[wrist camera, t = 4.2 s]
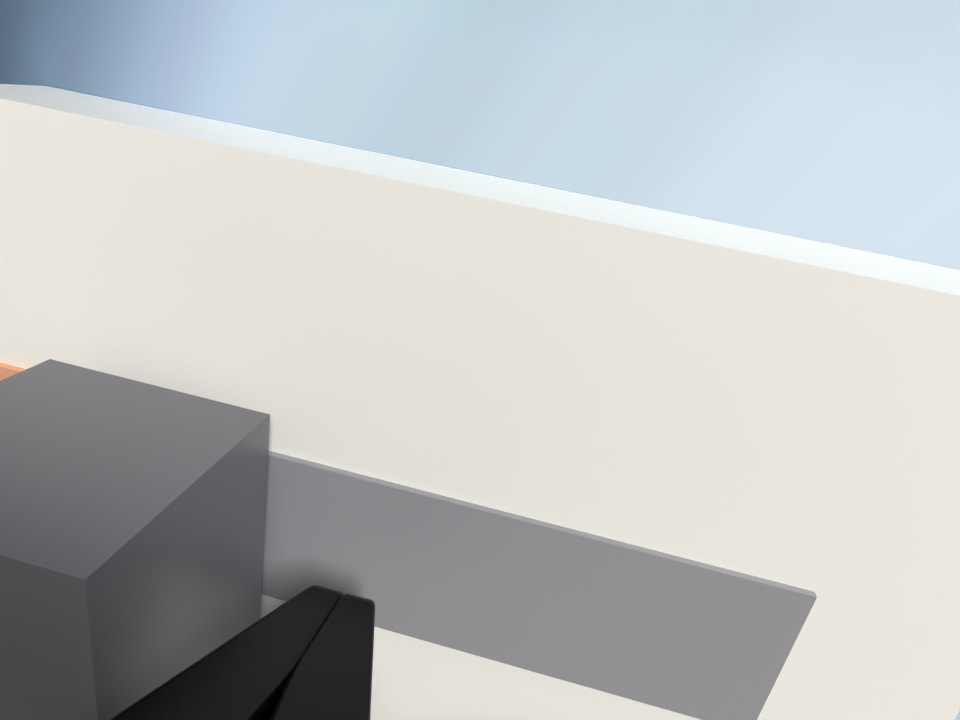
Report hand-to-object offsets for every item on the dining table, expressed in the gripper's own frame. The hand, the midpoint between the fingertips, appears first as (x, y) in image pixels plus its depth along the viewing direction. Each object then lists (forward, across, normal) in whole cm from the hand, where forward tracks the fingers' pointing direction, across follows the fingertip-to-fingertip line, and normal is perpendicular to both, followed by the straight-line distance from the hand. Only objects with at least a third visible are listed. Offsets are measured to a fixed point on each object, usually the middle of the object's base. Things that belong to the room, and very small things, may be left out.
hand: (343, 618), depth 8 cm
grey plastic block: (+1, +3, 0) cm, 3 cm away
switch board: (+3, -1, +7) cm, 8 cm away
